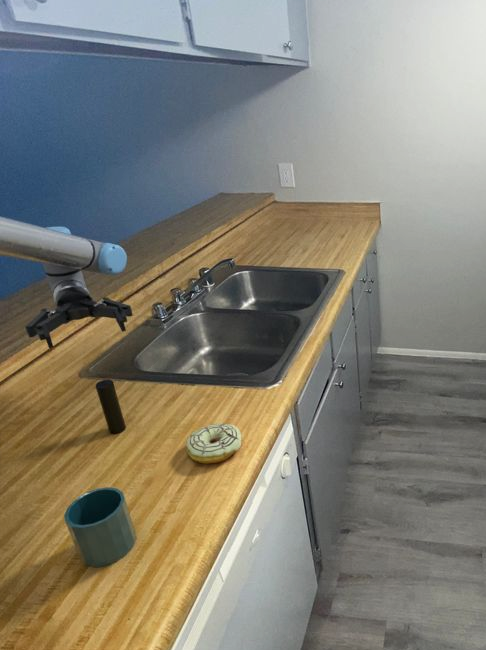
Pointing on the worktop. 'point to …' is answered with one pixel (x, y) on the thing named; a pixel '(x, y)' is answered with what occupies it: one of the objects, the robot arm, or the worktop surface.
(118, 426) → the black cylinder
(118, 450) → the worktop surface
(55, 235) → the robot arm
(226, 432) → the decorated donut
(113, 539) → the cup
